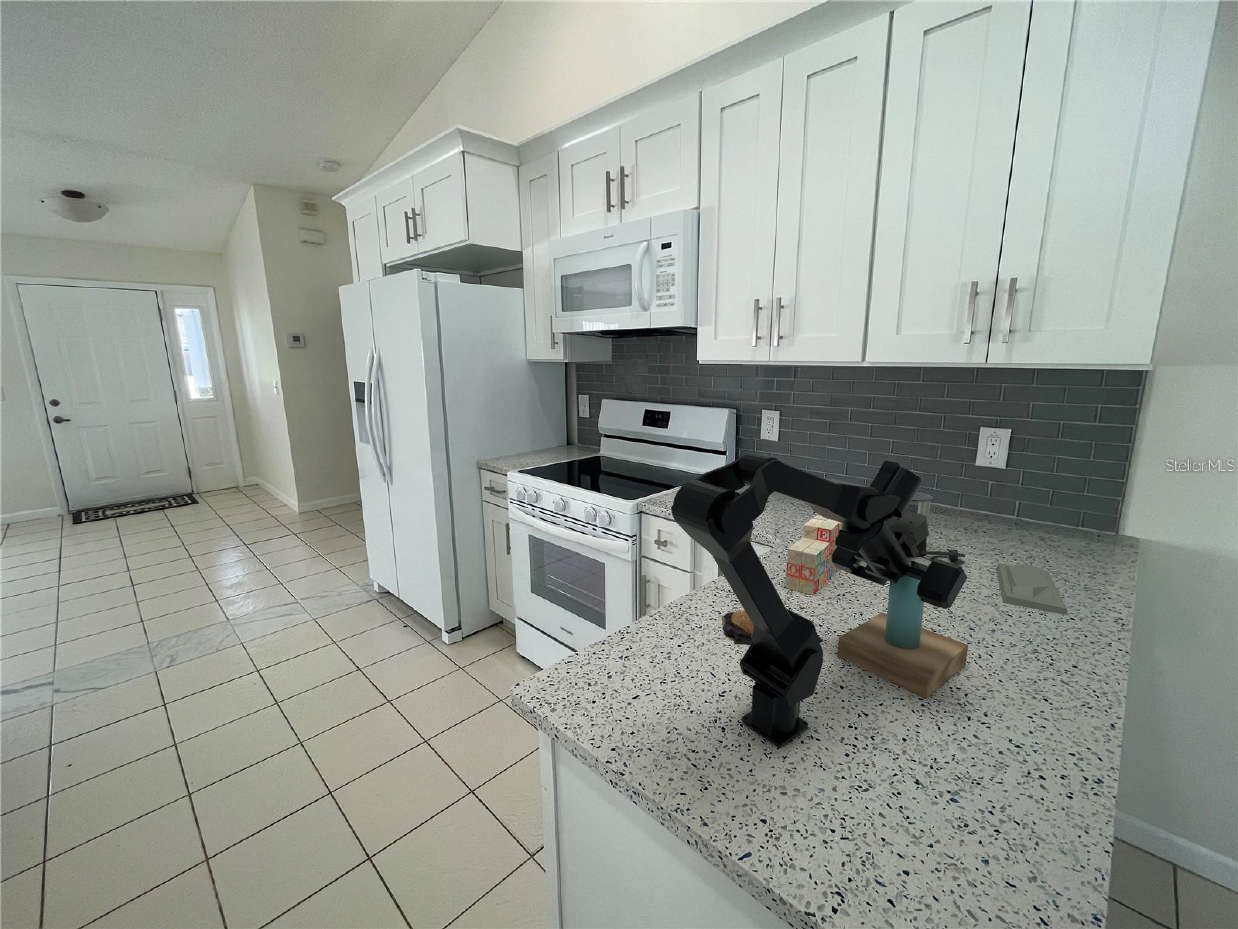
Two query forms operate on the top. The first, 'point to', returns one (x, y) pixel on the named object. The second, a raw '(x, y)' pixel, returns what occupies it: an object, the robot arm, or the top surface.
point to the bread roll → (738, 627)
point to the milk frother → (922, 506)
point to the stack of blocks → (812, 556)
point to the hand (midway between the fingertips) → (911, 593)
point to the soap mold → (1029, 588)
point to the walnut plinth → (903, 656)
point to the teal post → (904, 614)
